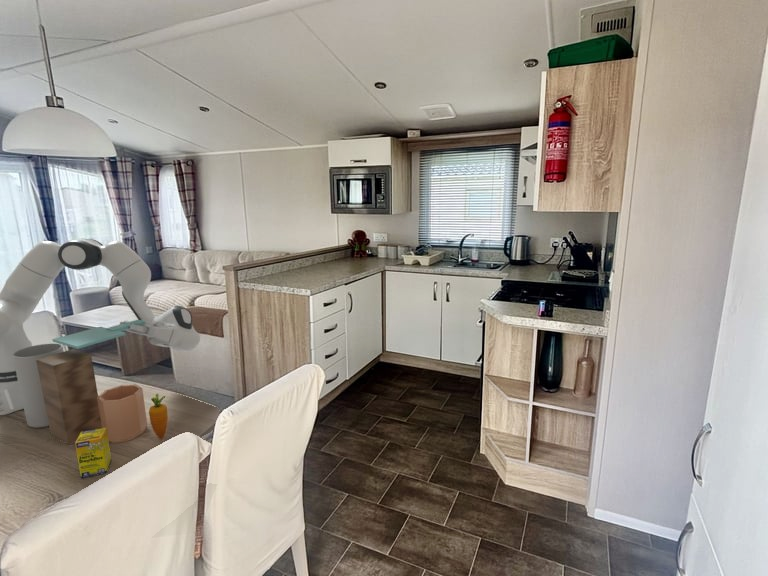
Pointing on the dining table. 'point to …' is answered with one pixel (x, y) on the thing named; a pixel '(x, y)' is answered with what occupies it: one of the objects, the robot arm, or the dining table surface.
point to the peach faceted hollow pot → (122, 412)
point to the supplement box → (93, 452)
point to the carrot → (158, 417)
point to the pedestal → (69, 394)
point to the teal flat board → (95, 335)
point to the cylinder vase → (33, 381)
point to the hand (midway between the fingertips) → (125, 325)
